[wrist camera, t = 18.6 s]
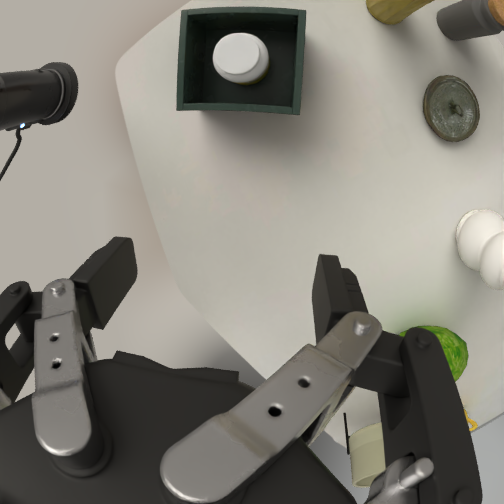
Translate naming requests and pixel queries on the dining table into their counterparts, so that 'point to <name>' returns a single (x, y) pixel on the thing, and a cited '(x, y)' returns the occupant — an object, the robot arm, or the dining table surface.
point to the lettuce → (450, 348)
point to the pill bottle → (241, 59)
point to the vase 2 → (483, 245)
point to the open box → (229, 93)
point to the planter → (365, 453)
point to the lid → (451, 108)
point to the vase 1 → (394, 9)
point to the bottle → (472, 19)
